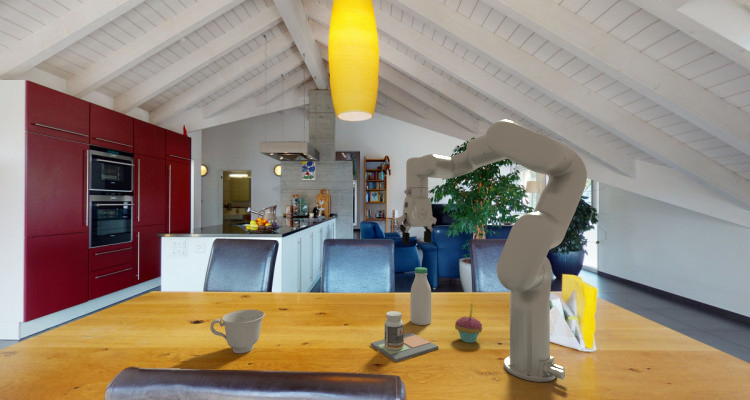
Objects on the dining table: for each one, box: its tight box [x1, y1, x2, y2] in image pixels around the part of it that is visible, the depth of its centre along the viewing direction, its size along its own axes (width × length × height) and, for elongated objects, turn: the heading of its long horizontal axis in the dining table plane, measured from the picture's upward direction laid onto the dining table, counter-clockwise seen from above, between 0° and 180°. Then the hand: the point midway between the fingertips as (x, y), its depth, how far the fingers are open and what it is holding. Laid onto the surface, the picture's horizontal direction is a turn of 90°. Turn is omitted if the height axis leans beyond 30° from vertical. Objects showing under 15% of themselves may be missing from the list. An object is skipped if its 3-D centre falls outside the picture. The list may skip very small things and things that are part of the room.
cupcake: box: [454, 302, 483, 344], centre depth 106 cm, size 9×8×12 cm
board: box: [370, 332, 439, 363], centre depth 100 cm, size 13×16×1 cm
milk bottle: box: [409, 266, 432, 326], centre depth 123 cm, size 8×8×20 cm
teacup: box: [210, 309, 265, 354], centre depth 98 cm, size 12×15×10 cm
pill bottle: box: [384, 310, 404, 350], centre depth 98 cm, size 6×6×10 cm
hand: (416, 243), depth 113 cm, fingers open, 9 cm apart
